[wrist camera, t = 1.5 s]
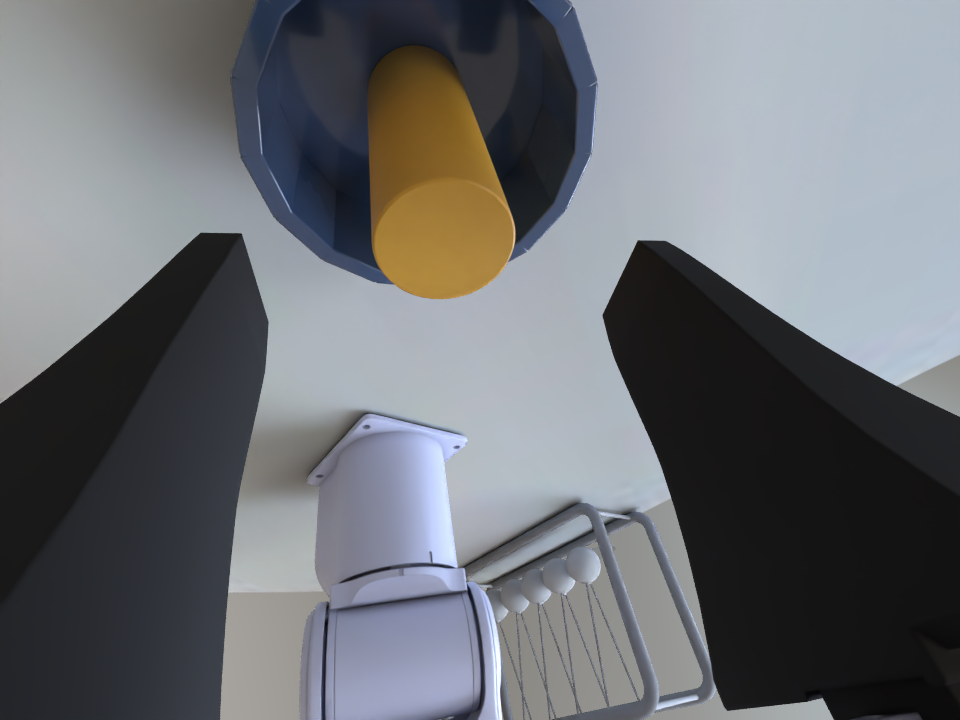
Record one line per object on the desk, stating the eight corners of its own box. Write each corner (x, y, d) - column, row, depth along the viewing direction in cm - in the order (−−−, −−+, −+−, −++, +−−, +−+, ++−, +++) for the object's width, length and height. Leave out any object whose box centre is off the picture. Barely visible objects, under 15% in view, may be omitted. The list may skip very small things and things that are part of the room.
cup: (550, 187, 18) (585, 256, 16) (330, 233, 18) (324, 310, 15) (551, -341, 9) (636, -406, 6) (108, -255, 9) (-4, -282, 6)
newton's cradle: (486, 586, 68) (511, 739, 57) (427, 586, 62) (443, 756, 51) (648, 505, 51) (728, 698, 40) (589, 494, 46) (663, 716, 34)
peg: (430, 165, 16) (461, 316, 11) (350, 114, 14) (345, 267, 9) (483, 87, 14) (545, 226, 9) (399, 19, 12) (424, 147, 8)
